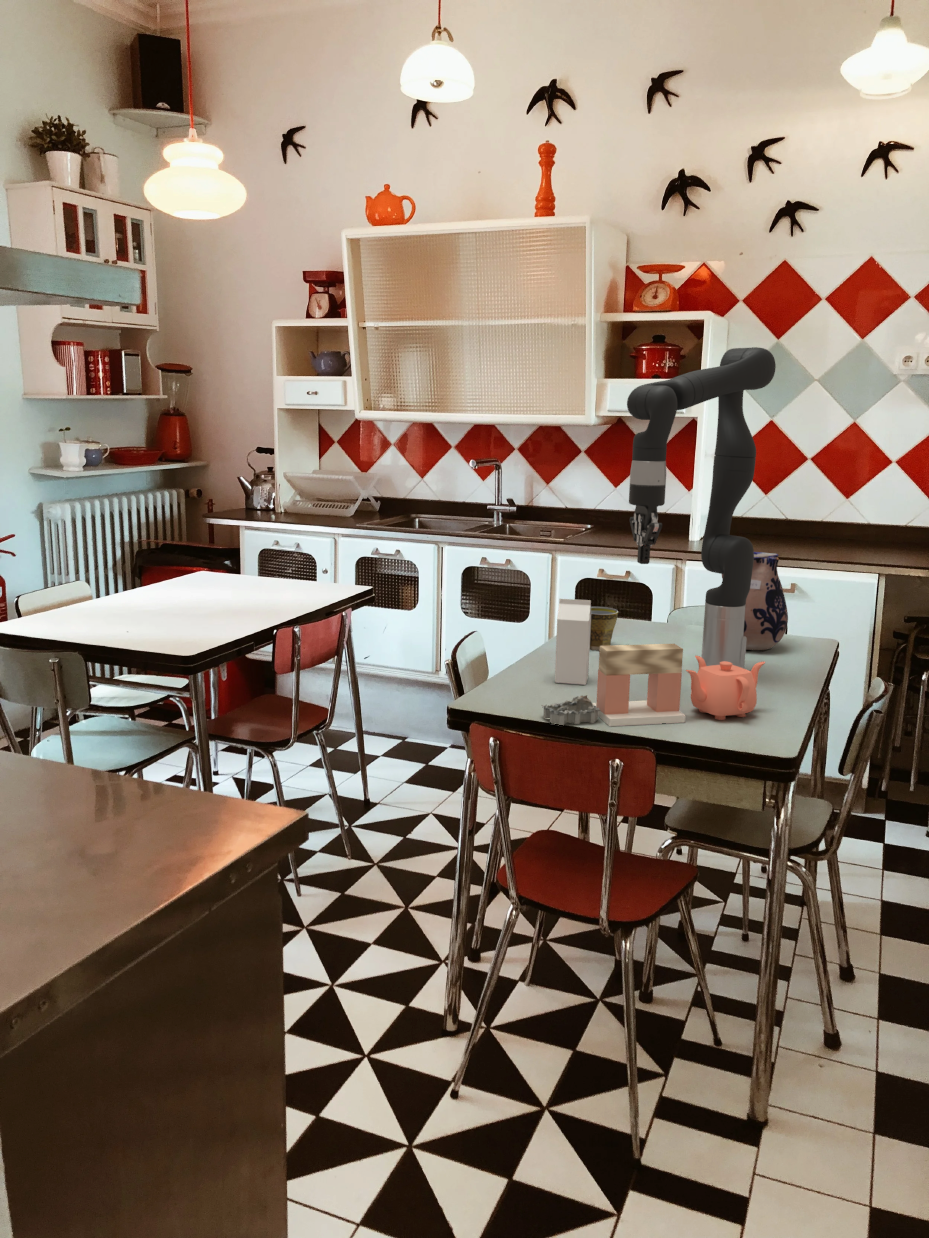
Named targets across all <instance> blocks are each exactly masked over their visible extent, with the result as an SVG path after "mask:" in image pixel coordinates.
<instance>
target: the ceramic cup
mask: <svg viewBox="0 0 929 1238" xmlns="http://www.w3.org/2000/svg"><path fill="white" fill-rule="evenodd" d="M618 616H619V611H618V609H615V608H611V607H607V606H591V630H590V651H600V646H607V645H611V643H612V638H613V633H614V630H615V627H616V624H617V620H618Z"/></svg>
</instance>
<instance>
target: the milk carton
mask: <svg viewBox="0 0 929 1238" xmlns="http://www.w3.org/2000/svg"><path fill="white" fill-rule="evenodd" d="M591 603H592V600H590V599H589V600H588V599H573V598H572V599H571V598H559V600H558V611H557V618H556V641H555V646H556V647H555V663H554V664H555V667H554V669H555V670H554V683H556V684H569V685H571V684H572V685H584V686H585V685H586V684H587V682H588V678H589V670H590V668H589V667H590V652H591V650H590V630H591V607H592V604H591Z"/></svg>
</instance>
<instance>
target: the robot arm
mask: <svg viewBox="0 0 929 1238" xmlns="http://www.w3.org/2000/svg"><path fill="white" fill-rule="evenodd" d="M776 367H777V366H776V360H775V357H774V355H773V353H772V352H771V351H769V350H768V349H767V348H764V347H759V346H758V347H757V346H756V347H755V346H753V347H734V348H730V349H728V350H726V351H725V352H724V354H723V355H722V357H721V359H720V363H719V366H715V367H707V368H702V369H696V370H693V371H689V372H687V373H683V374H680V375H678V376H674V377H672V378H669V379H665V380H661V381H660V380H659V381H655V382H650V383H644V384H642V385H639V386H637V387H635V388H634V389H633V390H632V391H631V392H629V393H630V394H629V395H628V398H627V401H626V407H627V410H628V413H629V414H630V415H631V416H632V417H633V418H635V419H637V420H639V421H640V420H642V421H648V425H647V427H646V429H645V430H644V431H640V432H638V433H636V434H635V435H634V436H633V441H632V455H631V456H632V458H631V459H632V461H631V467H630V473H629V488H628V489H629V490H628V493H629V494H628V503H629V505H632V506H635V508H634V513H633V516H630V517H629V525H630V529H631V533H632V538H633V541H634V542H635V543H636V545H637V563H638V564H641V565H648V564H650V558H651V547H653V545H656V543H657V541H658V538H659V537H660V533H661V532H662V531H661V530H662V529H663V523H662V522H658V520H659V515H658V507H662V506H664V505H665V500H666V485H667V450H668V449H667V448H668V446H667V445H668V440H669V436H670V434H671V431H672V427H673V424H674V422H675V419H676V415H677V411H681V410H686V409H689V408H691V407H694V406H696V405H699V404H701V403H705V402H707V401H711V400H713V399H716V398H717V399H718V401H717V402H718V408H717V410H718V411H717V412H718V413H717V426H716V427H717V428H716V442H715V449H714V457H713V467H712V478H711V479H712V480H711V481H712V482H711V492H710V498H709V507H708V513H707V517H706V523H705V527H704V532H703V538H702V543H701V552H700V554H701V555H700V556H701V563H702V565H703V567H704V568H705V570H706V571H708V572H711V573H715V574H721V575H722V574H723V579H722V580H721V583H720V585H719V586H717V587H713V588H709V589H708V590H707V591H706V592H705V598H704V599H705V601H704V613H703V615H704V616H703V627H702V628H703V630H702V631H703V632H702V645H701V646H702V647H701V656H700V657H702V658H703V659H704V661H705V663H706V666H712V665H720V662H723V661H727V662H731V663H732V665H735V666H738V667H741V668H744V669H745V666H746V665H745V662H746V651H747V650H746V640H747V638H746V637H745V636H743V632H744V620H745V607H746V598H747V596H748V593H749V590H750V585H751V577H752V570H753V562H754V552H755V549H754V545H753V543H752V542H751V540H750V539H749V538H746V537H744V536H740V535H739V536H737V535H732V534H730V533H731V525H732V519H733V514H734V512H735V510H736V508H737V506H738V504H739V503H740V502H741V500H742V499H743V498H744V496H745V494H746V493H747V491H748V490H749V489H750V487H751V484H752V482H753V479H754V475H755V467H756V462H757V461H756V458H757V448H756V447H757V446H756V443H755V441H754V437H753V435H752V433H751V431H750V429H749V425H748V424H747V421H746V418H745V414H744V408H743V407H744V403H743V402H744V391H750V390H751V391H755V390H760V389H763V388H765V387H767V386H768V385H769V384H770V383H771V382H772V380H773V379H774V377H775V373H776Z"/></svg>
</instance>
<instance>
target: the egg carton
mask: <svg viewBox="0 0 929 1238" xmlns="http://www.w3.org/2000/svg"><path fill="white" fill-rule="evenodd" d="M592 703H593V702H592V700H590V699H589V697H588V695H577V696H576V697H573V698H572V700H565V701H564V702H555V703H552V704H550V705H547V704H541V707H542V708H543V716H542V717H544V718H550V720H549V723H550V722H551V723H556V724H559V725H563V724H564V723H565V724H567V723H566V722H569V723H568V724H573V723H574V725H580V724H581V723H584V722H585V723H590V724H594V723H596V721H598V720H599V716H598V711H600V710H599V708H596V706H594V708H593V705H592ZM544 718H543V719H544ZM565 724H564V725H565ZM559 725H558V726H559ZM564 725H563V726H564Z"/></svg>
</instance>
